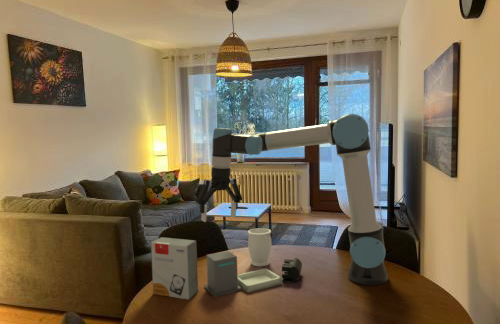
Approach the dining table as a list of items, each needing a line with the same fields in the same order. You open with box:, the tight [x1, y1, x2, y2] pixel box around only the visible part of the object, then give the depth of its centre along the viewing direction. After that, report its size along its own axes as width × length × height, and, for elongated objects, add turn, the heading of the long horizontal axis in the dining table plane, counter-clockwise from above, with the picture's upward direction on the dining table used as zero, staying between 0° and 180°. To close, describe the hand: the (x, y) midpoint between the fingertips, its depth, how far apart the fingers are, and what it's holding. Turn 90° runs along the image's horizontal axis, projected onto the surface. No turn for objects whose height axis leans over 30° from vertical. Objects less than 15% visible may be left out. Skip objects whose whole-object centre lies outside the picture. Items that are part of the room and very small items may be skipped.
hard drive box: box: [150, 237, 199, 301], centre depth 139 cm, size 16×8×20 cm, turn 70°
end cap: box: [281, 257, 303, 283], centre depth 151 cm, size 10×7×7 cm
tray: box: [237, 267, 283, 293], centre depth 147 cm, size 12×15×2 cm
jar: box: [247, 227, 272, 267], centre depth 168 cm, size 11×10×15 cm
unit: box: [203, 250, 243, 298], centre depth 142 cm, size 10×11×13 cm
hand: (218, 219), depth 151 cm, fingers open, 13 cm apart
